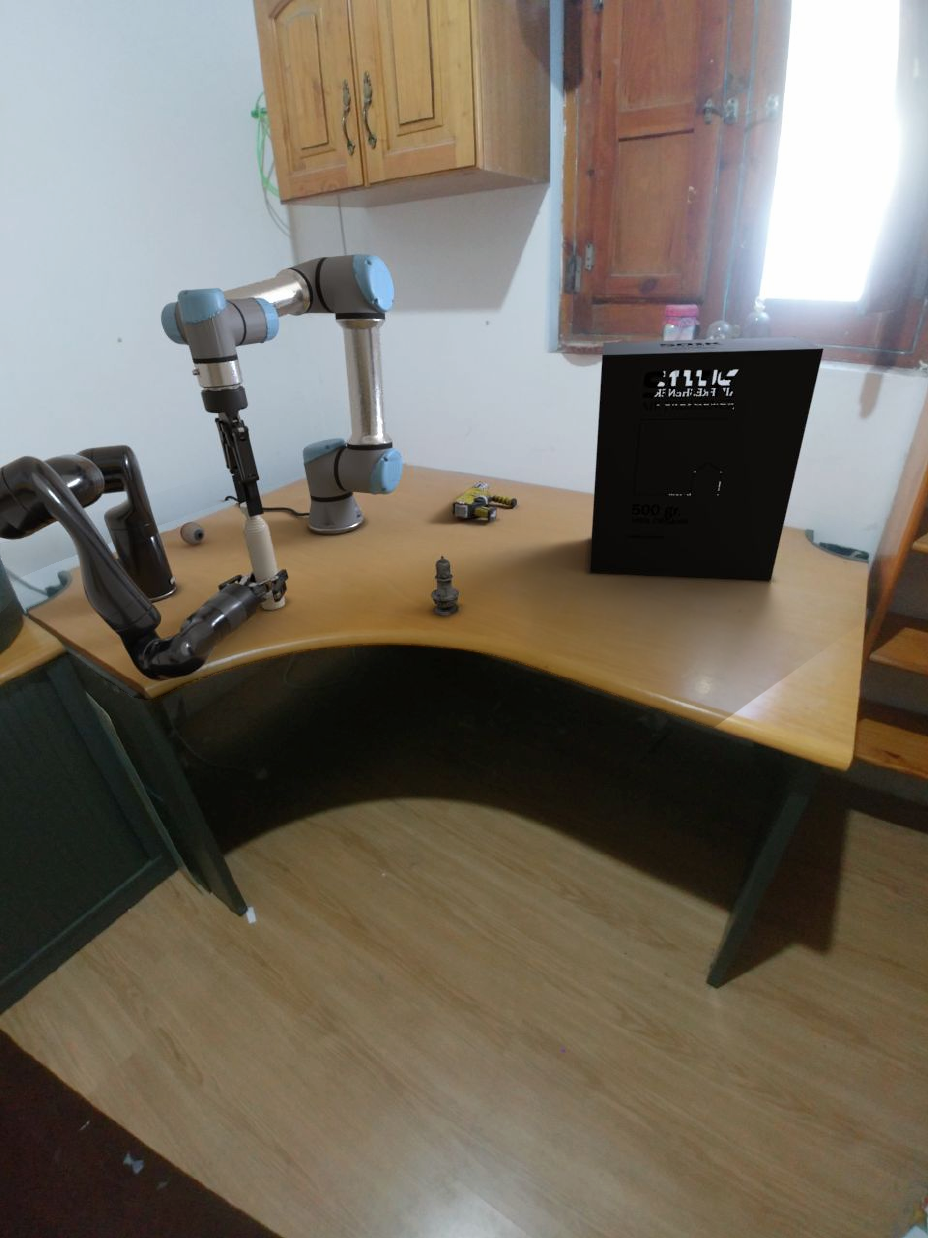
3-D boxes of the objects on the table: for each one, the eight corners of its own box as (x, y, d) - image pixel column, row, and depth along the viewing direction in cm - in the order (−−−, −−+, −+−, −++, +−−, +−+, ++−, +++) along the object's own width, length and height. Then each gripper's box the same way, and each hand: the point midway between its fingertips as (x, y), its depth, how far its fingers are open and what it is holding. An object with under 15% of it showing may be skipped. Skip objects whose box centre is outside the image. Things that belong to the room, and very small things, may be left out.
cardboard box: (751, 542, 144) (793, 336, 122) (770, 580, 127) (823, 348, 105) (591, 537, 152) (603, 342, 130) (589, 572, 135) (602, 354, 112)
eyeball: (193, 549, 159) (187, 528, 156) (179, 545, 162) (172, 524, 159) (212, 541, 163) (206, 520, 160) (198, 538, 166) (191, 517, 163)
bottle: (272, 612, 127) (248, 512, 116) (257, 606, 129) (232, 508, 118) (290, 602, 130) (268, 504, 119) (274, 597, 133) (252, 500, 122)
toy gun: (525, 486, 181) (478, 479, 184) (503, 510, 160) (450, 501, 164) (523, 501, 183) (477, 494, 187) (501, 526, 163) (450, 518, 167)
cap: (260, 506, 121) (258, 499, 121) (262, 512, 118) (260, 504, 118) (240, 509, 120) (239, 502, 120) (242, 515, 117) (240, 508, 116)
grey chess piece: (457, 617, 121) (453, 562, 115) (428, 615, 122) (423, 561, 116) (463, 603, 126) (459, 550, 120) (435, 601, 127) (431, 549, 121)
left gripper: (256, 596, 111) (300, 558, 125) (190, 590, 115) (240, 554, 129) (265, 630, 115) (307, 590, 129) (200, 624, 118) (248, 585, 133)
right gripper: (188, 384, 113) (219, 502, 124) (213, 396, 99) (246, 528, 111) (229, 378, 116) (255, 494, 128) (258, 389, 102) (285, 518, 114)
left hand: (273, 572), depth 129 cm, fingers closed on bottle, 5 cm apart
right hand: (251, 510), depth 119 cm, fingers open, 6 cm apart
